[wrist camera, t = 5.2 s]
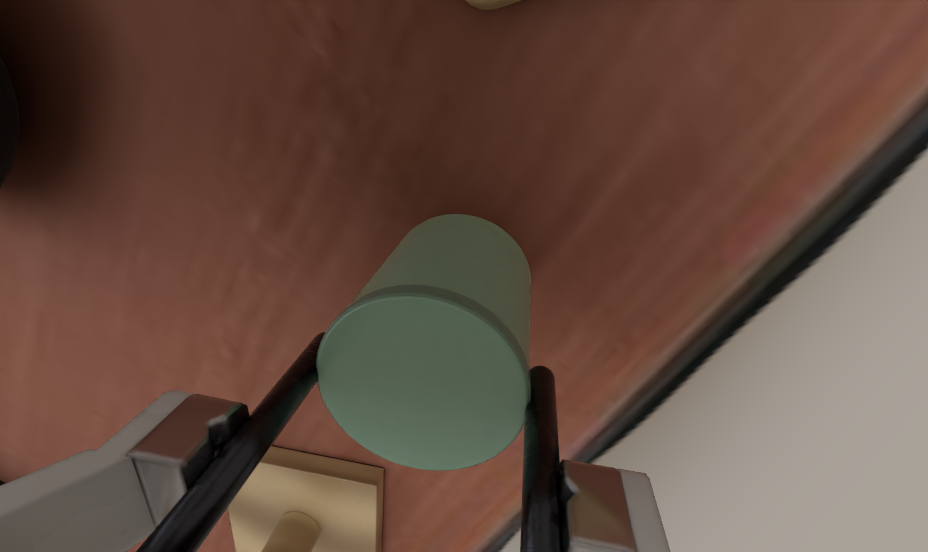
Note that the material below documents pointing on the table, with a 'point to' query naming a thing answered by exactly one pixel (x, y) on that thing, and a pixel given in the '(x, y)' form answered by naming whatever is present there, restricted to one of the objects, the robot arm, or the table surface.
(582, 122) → the table surface
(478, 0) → the headphone stand
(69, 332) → the table surface
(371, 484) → the cup holder
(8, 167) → the alarm clock
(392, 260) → the tin pail
